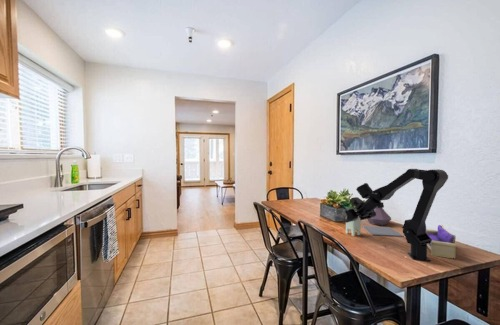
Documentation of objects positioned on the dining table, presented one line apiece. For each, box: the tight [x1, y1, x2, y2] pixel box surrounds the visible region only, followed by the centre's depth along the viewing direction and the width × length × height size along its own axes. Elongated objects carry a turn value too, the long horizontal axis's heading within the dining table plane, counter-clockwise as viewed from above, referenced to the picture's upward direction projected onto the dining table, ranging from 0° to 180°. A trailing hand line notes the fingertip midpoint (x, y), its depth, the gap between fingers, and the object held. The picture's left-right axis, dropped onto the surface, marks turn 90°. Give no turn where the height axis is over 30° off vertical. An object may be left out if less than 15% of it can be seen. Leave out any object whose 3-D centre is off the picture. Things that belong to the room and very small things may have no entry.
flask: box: [366, 207, 392, 226], centre depth 150 cm, size 16×16×20 cm
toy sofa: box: [426, 224, 457, 260], centre depth 106 cm, size 21×9×10 cm, turn 153°
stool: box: [345, 216, 361, 237], centre depth 128 cm, size 5×5×10 cm
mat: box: [362, 225, 405, 238], centre depth 132 cm, size 16×16×1 cm
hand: (351, 220), depth 129 cm, fingers open, 9 cm apart
